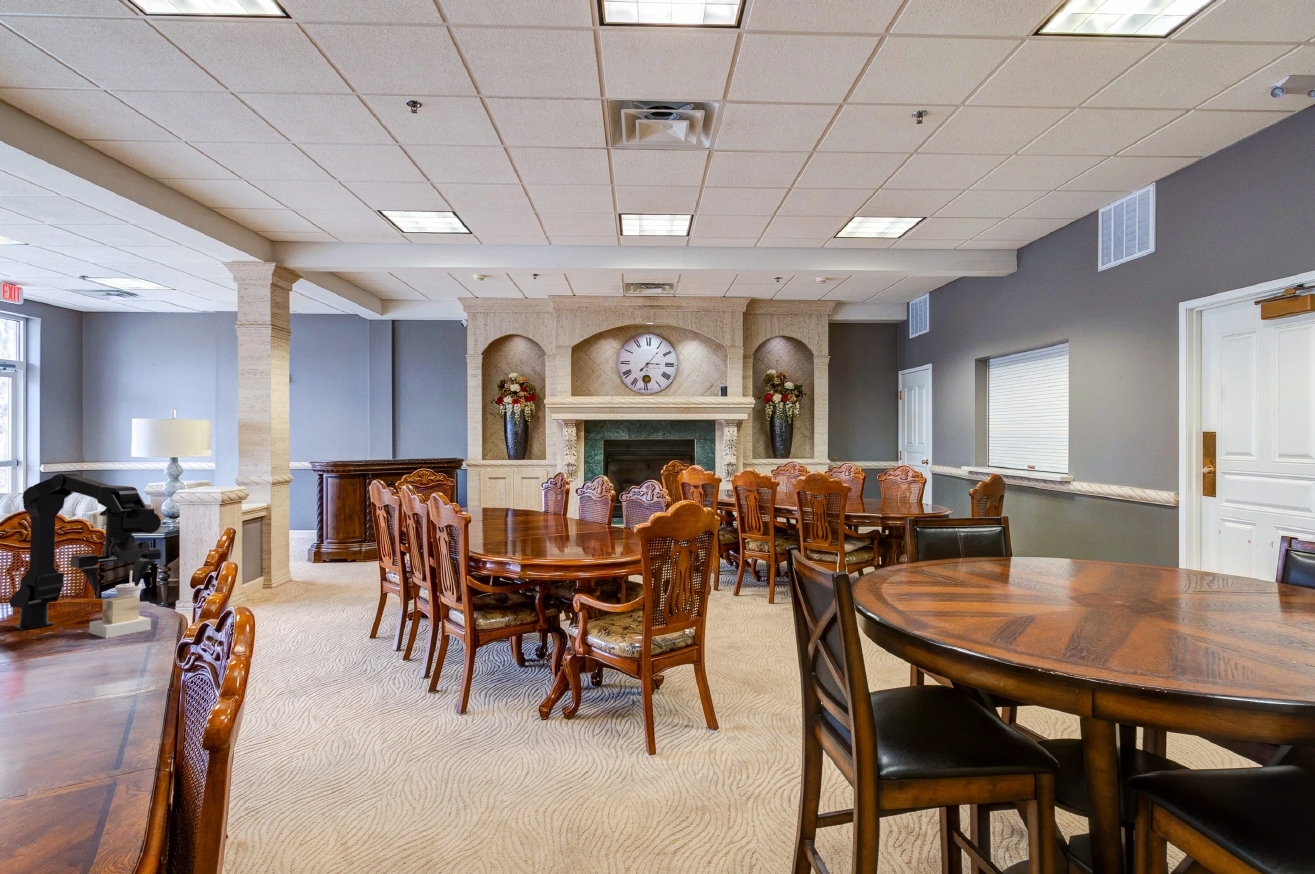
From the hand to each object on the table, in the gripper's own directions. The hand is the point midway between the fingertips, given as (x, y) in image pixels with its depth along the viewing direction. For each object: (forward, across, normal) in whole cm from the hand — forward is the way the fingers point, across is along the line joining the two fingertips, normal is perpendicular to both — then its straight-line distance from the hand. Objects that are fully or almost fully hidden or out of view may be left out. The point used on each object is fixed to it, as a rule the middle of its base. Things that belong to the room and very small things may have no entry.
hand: (116, 588), depth 175 cm
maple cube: (+9, +1, -1) cm, 9 cm away
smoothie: (+12, +9, +15) cm, 21 cm away
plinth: (+12, +1, -1) cm, 12 cm away
